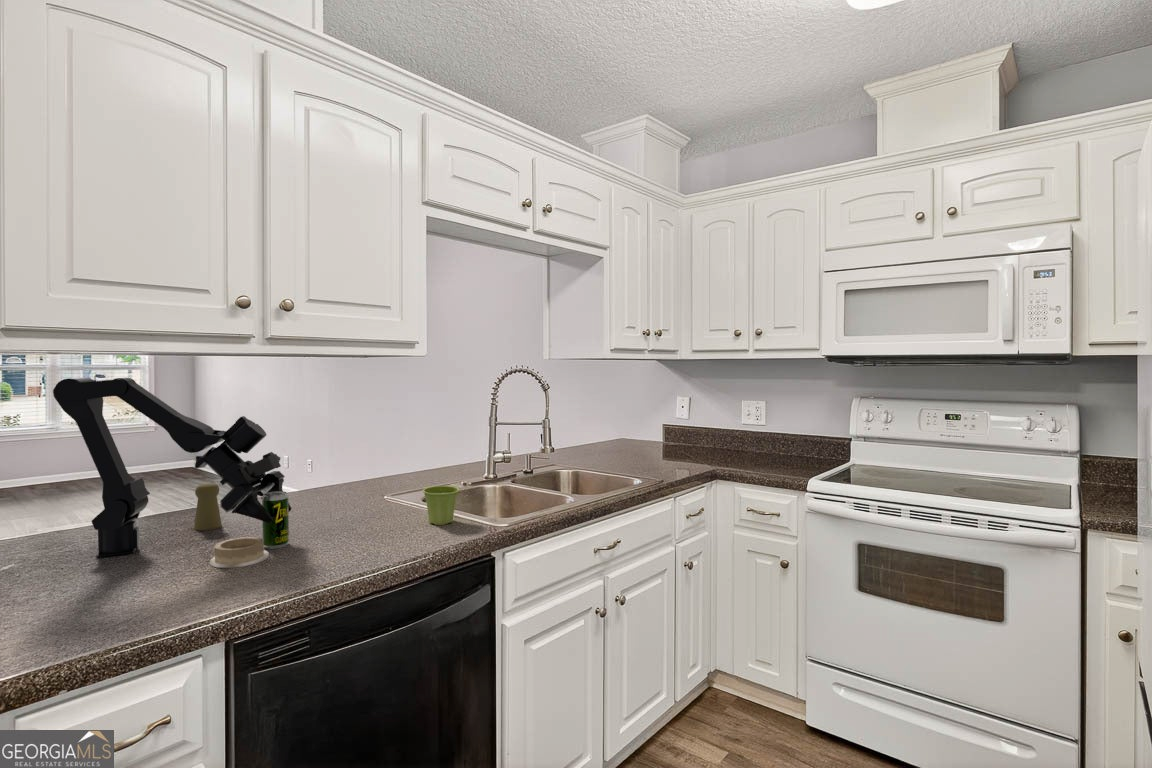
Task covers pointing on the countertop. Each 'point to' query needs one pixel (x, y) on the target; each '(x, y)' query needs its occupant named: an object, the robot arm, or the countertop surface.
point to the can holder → (239, 552)
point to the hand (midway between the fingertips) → (281, 515)
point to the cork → (207, 507)
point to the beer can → (276, 520)
